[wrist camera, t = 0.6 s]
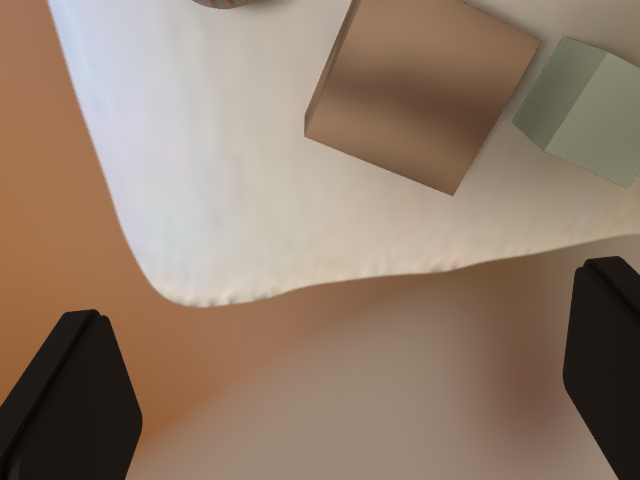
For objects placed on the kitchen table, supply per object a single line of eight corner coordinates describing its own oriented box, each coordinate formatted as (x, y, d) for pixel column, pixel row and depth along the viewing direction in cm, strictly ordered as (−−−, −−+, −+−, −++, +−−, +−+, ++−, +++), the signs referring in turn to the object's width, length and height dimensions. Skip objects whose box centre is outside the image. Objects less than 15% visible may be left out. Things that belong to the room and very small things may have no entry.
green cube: (563, 35, 35) (608, 52, 30) (639, 74, 36) (696, 97, 31) (510, 121, 37) (543, 151, 32) (583, 155, 39) (627, 189, 33)
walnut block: (368, -41, 33) (377, -39, 29) (512, 28, 35) (542, 40, 30) (304, 113, 37) (304, 136, 33) (436, 167, 39) (452, 196, 35)
